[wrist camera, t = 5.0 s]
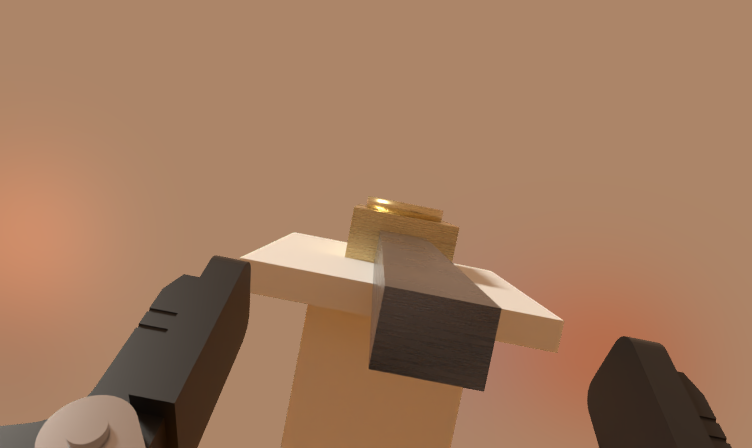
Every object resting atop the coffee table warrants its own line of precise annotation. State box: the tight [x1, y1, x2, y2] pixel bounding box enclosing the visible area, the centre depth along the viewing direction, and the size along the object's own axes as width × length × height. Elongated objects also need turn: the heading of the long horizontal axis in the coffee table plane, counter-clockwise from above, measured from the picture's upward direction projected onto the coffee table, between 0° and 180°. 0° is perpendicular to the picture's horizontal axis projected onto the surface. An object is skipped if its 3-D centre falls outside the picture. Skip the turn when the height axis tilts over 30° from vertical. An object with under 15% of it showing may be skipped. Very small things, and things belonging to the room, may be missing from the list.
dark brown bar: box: [345, 196, 502, 391], centre depth 20 cm, size 5×20×3 cm, turn 179°
